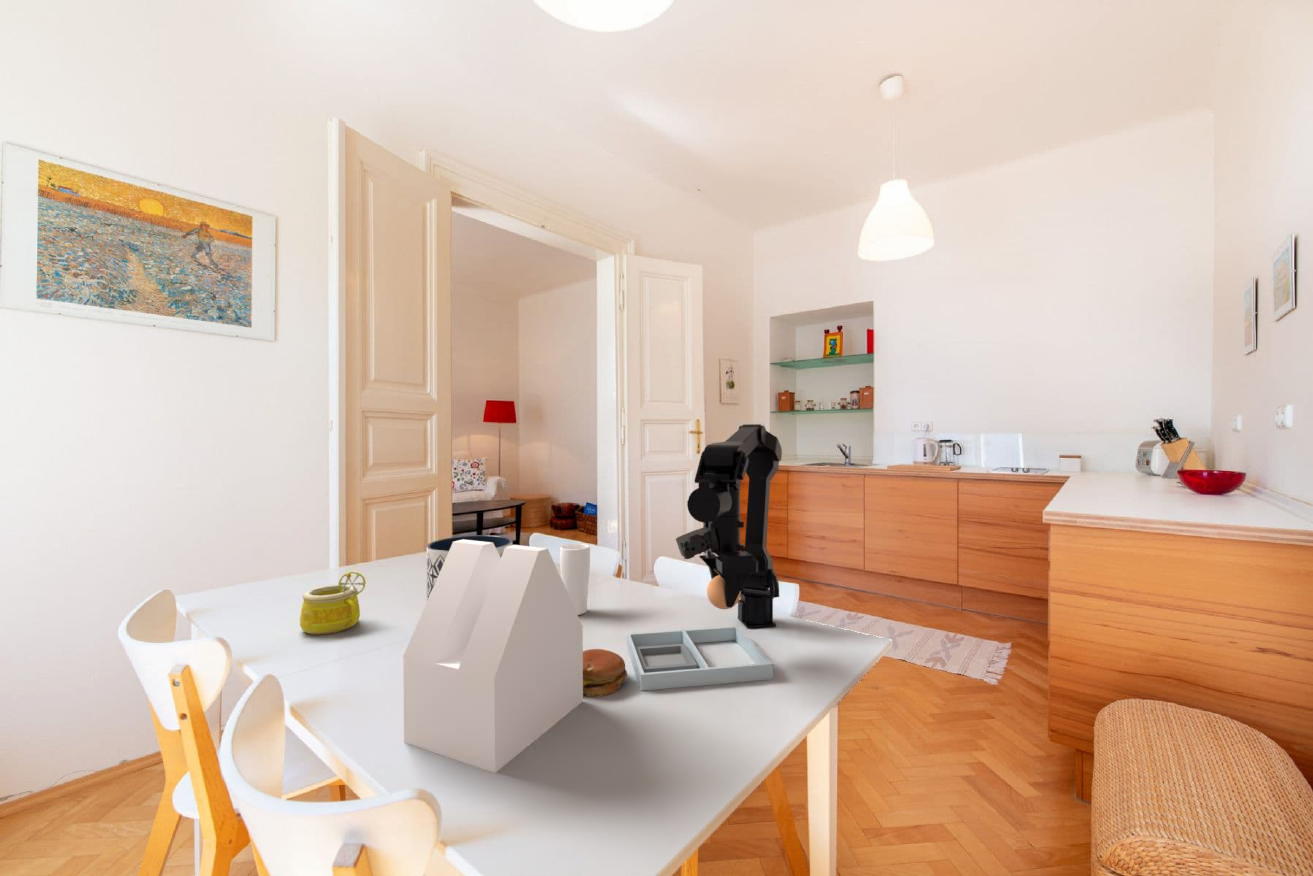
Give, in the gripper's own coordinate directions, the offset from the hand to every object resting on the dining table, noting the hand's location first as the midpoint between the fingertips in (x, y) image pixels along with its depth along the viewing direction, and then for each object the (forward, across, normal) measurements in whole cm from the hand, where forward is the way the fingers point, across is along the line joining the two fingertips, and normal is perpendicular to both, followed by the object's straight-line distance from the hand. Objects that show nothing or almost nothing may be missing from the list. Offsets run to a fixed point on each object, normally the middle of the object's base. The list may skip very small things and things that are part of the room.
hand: (723, 601), depth 97 cm
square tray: (+10, 0, -11) cm, 15 cm away
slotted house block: (+11, +14, -37) cm, 41 cm away
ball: (+1, 0, 0) cm, 1 cm away
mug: (+11, -30, -75) cm, 82 cm away
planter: (+11, -33, -48) cm, 60 cm away
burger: (+11, +5, -23) cm, 26 cm away
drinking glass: (+11, -31, -25) cm, 42 cm away
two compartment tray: (+10, 0, -5) cm, 12 cm away
